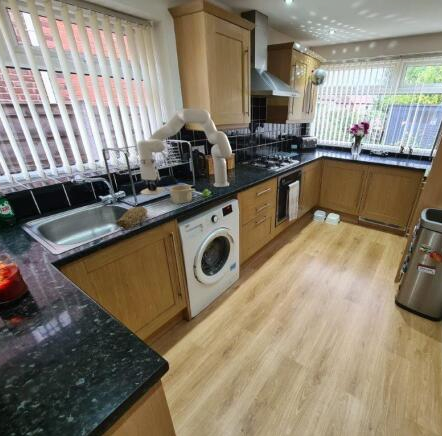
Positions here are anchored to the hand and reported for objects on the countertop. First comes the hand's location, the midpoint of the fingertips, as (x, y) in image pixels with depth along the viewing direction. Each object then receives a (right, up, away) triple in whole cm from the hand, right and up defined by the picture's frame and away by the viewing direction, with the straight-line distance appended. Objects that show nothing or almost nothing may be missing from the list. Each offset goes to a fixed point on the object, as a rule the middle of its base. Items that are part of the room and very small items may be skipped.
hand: (152, 189), depth 158 cm
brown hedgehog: (+1, -21, -24) cm, 31 cm away
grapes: (+32, -3, +14) cm, 35 cm away
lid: (0, -1, 0) cm, 1 cm away
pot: (+17, -6, +7) cm, 19 cm away
